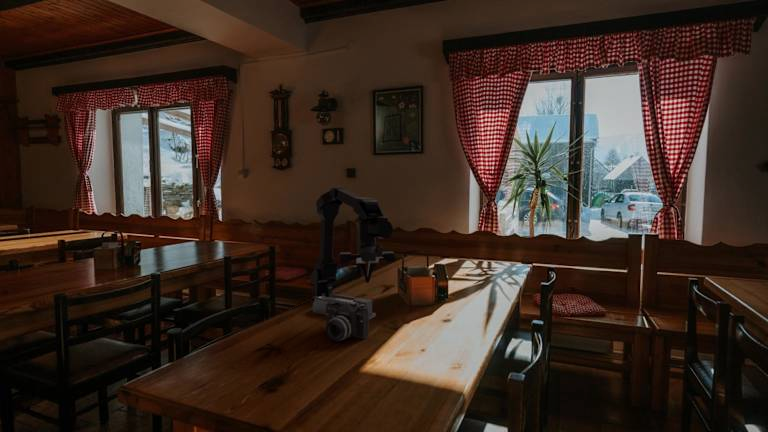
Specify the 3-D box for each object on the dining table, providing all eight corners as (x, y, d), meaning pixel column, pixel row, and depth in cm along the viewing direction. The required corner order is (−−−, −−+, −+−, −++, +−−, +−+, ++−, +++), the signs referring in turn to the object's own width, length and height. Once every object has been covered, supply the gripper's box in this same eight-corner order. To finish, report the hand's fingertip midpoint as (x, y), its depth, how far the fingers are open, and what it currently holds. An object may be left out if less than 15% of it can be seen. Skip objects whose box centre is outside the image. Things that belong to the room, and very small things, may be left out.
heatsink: (310, 311, 158) (310, 297, 157) (327, 305, 166) (327, 291, 166) (346, 318, 151) (347, 304, 150) (362, 311, 159) (362, 297, 159)
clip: (352, 313, 153) (352, 300, 153) (358, 310, 157) (358, 297, 156) (366, 315, 151) (366, 302, 150) (372, 312, 154) (372, 299, 154)
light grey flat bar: (319, 299, 160) (319, 297, 160) (323, 297, 162) (323, 296, 162) (351, 304, 154) (351, 302, 154) (355, 302, 156) (355, 300, 156)
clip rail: (348, 316, 153) (348, 313, 153) (355, 312, 158) (356, 309, 158) (368, 320, 150) (368, 317, 149) (376, 316, 154) (376, 313, 154)
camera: (310, 338, 132) (310, 305, 131) (332, 327, 141) (332, 296, 141) (351, 347, 125) (352, 312, 124) (371, 336, 135) (372, 303, 134)
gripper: (339, 239, 141) (339, 288, 142) (398, 238, 143) (398, 286, 144) (338, 235, 152) (339, 281, 153) (393, 235, 155) (393, 280, 155)
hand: (367, 282), depth 151 cm, fingers closed
